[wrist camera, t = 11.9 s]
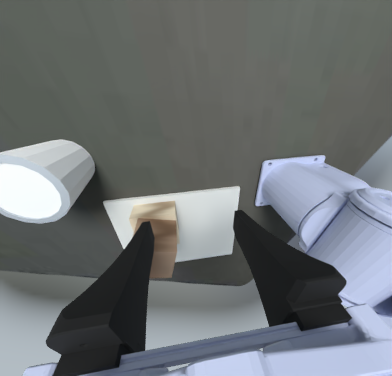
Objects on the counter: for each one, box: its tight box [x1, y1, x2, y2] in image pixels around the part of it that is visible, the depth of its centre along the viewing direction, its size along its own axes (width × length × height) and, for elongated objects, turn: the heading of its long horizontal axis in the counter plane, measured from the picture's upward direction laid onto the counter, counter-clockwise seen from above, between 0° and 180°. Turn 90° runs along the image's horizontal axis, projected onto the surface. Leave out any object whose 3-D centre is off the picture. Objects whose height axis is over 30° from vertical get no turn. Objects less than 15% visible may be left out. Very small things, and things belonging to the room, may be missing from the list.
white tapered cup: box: [0, 139, 95, 223], centre depth 16 cm, size 7×7×7 cm
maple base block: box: [129, 201, 180, 244], centre depth 23 cm, size 6×6×3 cm
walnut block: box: [133, 218, 177, 278], centre depth 20 cm, size 5×5×5 cm
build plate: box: [103, 186, 240, 262], centre depth 27 cm, size 20×16×1 cm
